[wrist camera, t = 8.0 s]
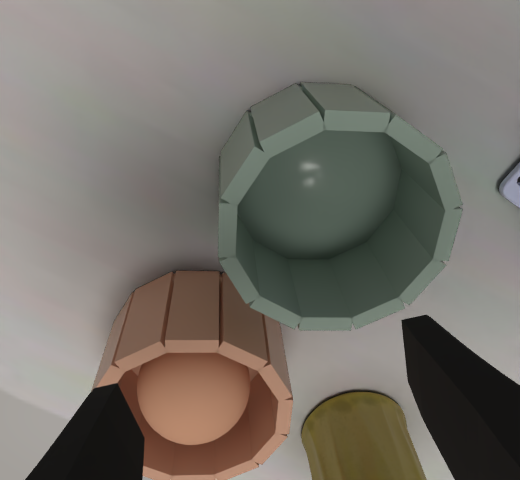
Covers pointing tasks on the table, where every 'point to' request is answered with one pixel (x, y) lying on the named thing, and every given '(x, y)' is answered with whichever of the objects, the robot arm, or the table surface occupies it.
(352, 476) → the vase
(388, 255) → the green faceted bowl
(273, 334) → the salmon slatted bowl
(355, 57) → the table surface
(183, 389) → the ball
